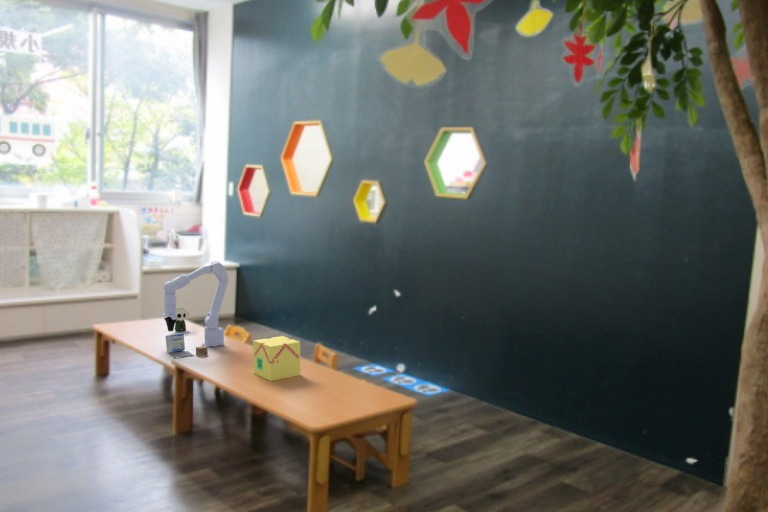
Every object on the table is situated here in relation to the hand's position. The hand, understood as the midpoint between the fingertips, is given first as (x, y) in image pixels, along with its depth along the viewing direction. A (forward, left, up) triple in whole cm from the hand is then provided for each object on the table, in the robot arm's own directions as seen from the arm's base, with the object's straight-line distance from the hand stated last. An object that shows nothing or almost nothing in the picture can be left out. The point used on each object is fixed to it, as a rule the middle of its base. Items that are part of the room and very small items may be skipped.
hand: (170, 331), depth 331 cm
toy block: (-27, +72, -9) cm, 77 cm away
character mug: (-16, -40, -9) cm, 44 cm away
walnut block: (-9, +22, -9) cm, 25 cm away
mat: (-1, +17, -9) cm, 19 cm away
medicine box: (0, +9, -9) cm, 13 cm away
